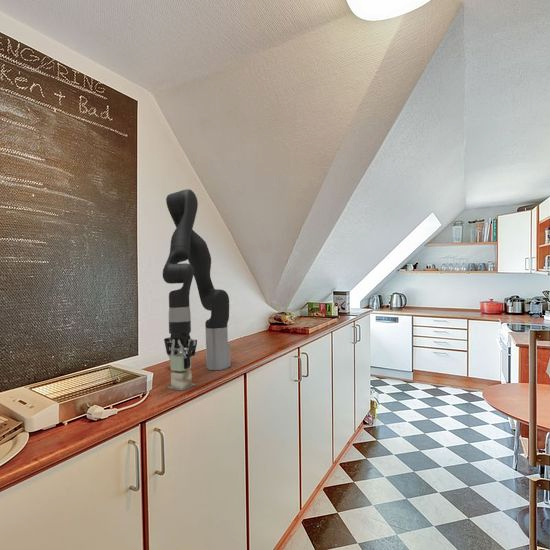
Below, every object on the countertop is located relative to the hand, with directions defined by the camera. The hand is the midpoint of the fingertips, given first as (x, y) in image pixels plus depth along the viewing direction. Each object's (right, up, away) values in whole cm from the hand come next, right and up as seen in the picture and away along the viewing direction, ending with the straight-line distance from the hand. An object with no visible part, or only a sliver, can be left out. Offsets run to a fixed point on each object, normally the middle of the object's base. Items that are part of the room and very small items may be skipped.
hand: (181, 367), depth 125 cm
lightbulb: (-10, -7, +26) cm, 29 cm away
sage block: (0, -1, 0) cm, 1 cm away
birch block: (0, -6, 0) cm, 6 cm away
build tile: (0, -7, 0) cm, 7 cm away
